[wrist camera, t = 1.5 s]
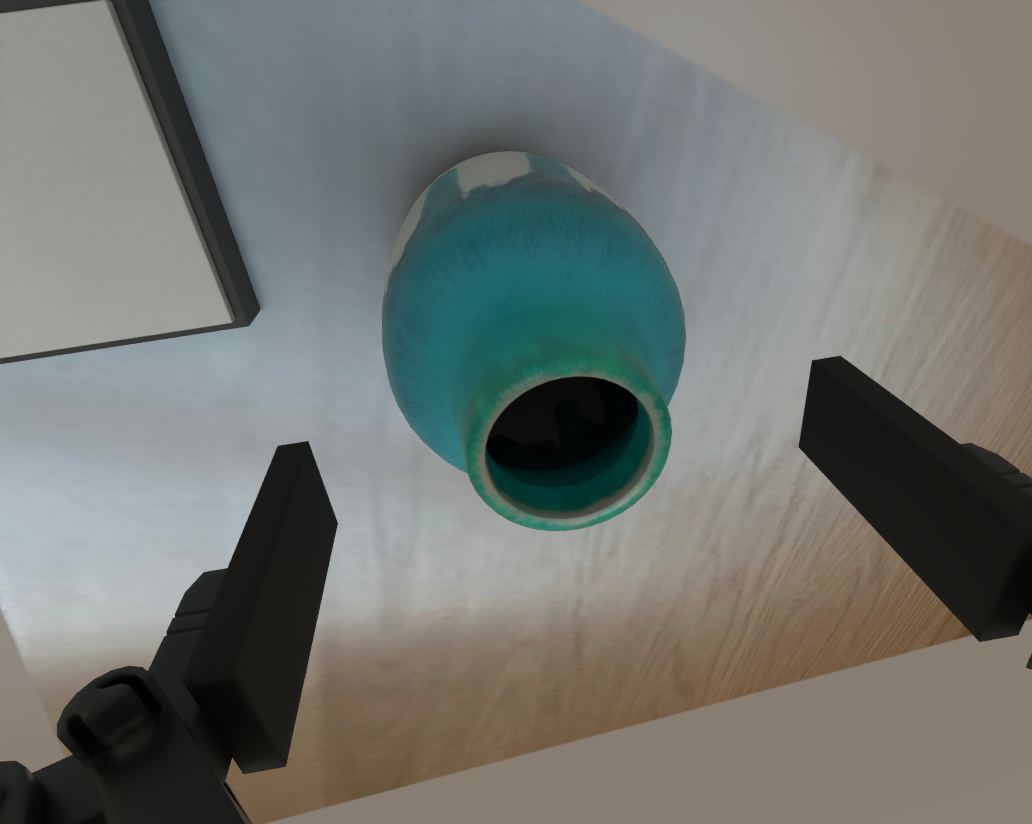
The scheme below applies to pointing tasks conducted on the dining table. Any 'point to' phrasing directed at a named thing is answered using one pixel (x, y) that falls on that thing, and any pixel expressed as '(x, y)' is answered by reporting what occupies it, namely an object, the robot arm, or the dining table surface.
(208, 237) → the scale
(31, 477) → the dining table surface
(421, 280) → the vase
